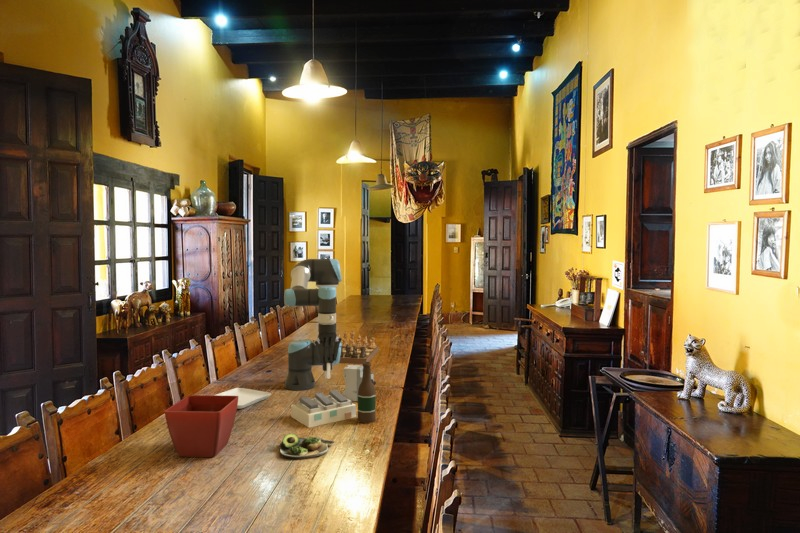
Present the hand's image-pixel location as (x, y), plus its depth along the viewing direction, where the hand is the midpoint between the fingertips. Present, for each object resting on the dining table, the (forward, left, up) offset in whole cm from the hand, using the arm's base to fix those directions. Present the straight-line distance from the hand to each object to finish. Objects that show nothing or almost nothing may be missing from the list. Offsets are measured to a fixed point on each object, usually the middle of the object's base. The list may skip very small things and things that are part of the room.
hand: (327, 377), depth 222 cm
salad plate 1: (-39, -24, -16) cm, 48 cm away
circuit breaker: (-10, +23, -16) cm, 30 cm away
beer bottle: (+16, +9, -16) cm, 25 cm away
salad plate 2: (+28, -26, -16) cm, 42 cm away
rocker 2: (+2, -3, -9) cm, 10 cm away
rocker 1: (+2, -10, -9) cm, 14 cm away
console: (+2, -3, -16) cm, 16 cm away
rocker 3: (+2, +4, -9) cm, 10 cm away
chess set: (-95, +65, -16) cm, 116 cm away
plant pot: (+8, -54, -16) cm, 57 cm away
